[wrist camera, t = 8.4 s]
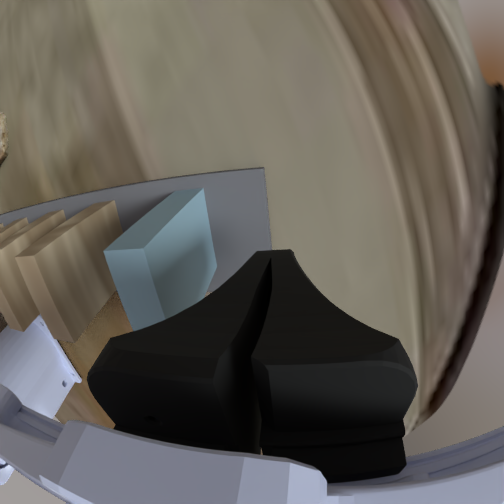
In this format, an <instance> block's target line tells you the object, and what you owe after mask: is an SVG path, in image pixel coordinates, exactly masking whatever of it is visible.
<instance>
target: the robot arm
mask: <svg viewBox="0 0 504 504" xmlns="http://www.w3.org/2000/svg"><path fill="white" fill-rule="evenodd" d="M81 381H82V379H81V378H80V376H79V375H78V373H77V372H76V370H75V369H74V367H73V366H72V364H71V362H70V361H69V359H68V358H67V356H66V354H65V353H64V351H63V350H62V348H61V346H60V344H59V343H58V341H57V339H54V338H53V336H52V335H51V333H50V331H49V329H48V327H47V326H46V324H45V322H44V320H43V318H42V316H41V314H40V315H39V316H38V317H37V318H36V319H35V320H34V321H33V322H32V323H31V324H30V325H29V327H28V328H27V329H26V330H25V331H24V332H22V331H18V330H14V329H10V327H9V325H7V326H6V327H5V328H4V329H3V331H2V332H1V333H0V485H3V484H5V482H7V481H8V479H9V477H10V476H11V474H12V472H13V471H14V470H17V471H18V472H20V473H21V474H22V475H24V476H25V477H27V478H28V479H29V480H31V481H32V482H34V483H35V484H37V485H39V486H40V487H42V488H43V489H44V490H46V491H48V492H50V493H51V494H53V495H54V496H56V497H58V498H60V499H61V500H63V501H65V502H66V504H504V426H503V427H500V428H498V429H495V430H493V431H491V432H488V433H486V434H483V435H480V436H478V437H475V438H472V439H469V440H466V441H464V442H461V443H458V444H454V445H451V446H448V447H444V448H441V449H437V450H434V451H430V452H426V453H422V454H418V455H413V456H409V457H405V451H404V446H403V440H402V437H404V435H405V427H404V422H403V418H404V416H405V414H406V412H407V411H408V409H409V407H410V405H411V403H412V401H413V399H414V397H415V394H416V391H417V387H418V384H417V378H416V374H415V371H414V369H413V366H412V363H411V361H410V359H409V357H408V355H407V353H406V351H405V349H404V348H403V346H402V344H401V342H400V340H399V339H397V338H395V337H393V336H390V335H388V334H385V333H383V332H380V331H378V330H376V329H373V328H371V327H369V326H367V325H365V324H363V323H362V322H360V321H358V320H356V319H354V318H353V317H351V316H350V315H348V314H346V313H345V312H344V311H342V310H341V309H339V308H338V307H337V306H335V305H334V304H333V303H331V302H330V301H329V300H328V299H327V298H326V297H325V296H324V295H323V294H322V293H321V292H320V291H319V290H318V289H317V288H316V287H315V286H314V284H313V283H312V282H311V281H310V280H309V278H308V277H307V276H306V274H305V273H304V271H303V270H302V268H301V267H300V265H299V264H298V262H297V260H296V258H295V256H294V252H293V251H292V250H291V249H288V250H266V251H256V252H255V253H254V254H253V255H252V256H251V257H250V258H249V259H248V260H247V262H246V263H245V264H244V265H243V266H242V267H241V268H240V269H239V270H238V271H237V272H236V273H235V274H234V275H232V276H231V277H230V278H229V279H228V280H227V281H226V282H224V283H223V284H222V285H221V286H220V287H219V288H217V289H216V290H215V291H213V292H212V293H211V294H209V295H208V296H206V297H205V298H203V299H202V300H200V301H199V302H197V303H196V304H194V305H192V306H190V307H189V308H187V309H185V310H183V311H181V312H179V313H178V314H176V315H174V316H172V317H169V318H167V319H165V320H163V321H161V322H158V323H156V324H153V325H151V326H148V327H145V328H142V329H139V330H136V331H133V332H130V333H126V334H123V335H120V336H116V337H112V338H110V340H109V341H108V343H107V344H106V346H105V347H104V349H103V350H102V352H101V353H100V355H99V356H98V358H97V360H96V361H95V363H94V364H93V366H92V367H91V369H90V371H89V372H88V376H87V382H88V385H89V389H90V391H91V393H92V394H93V396H94V398H95V399H96V400H97V402H98V403H99V404H100V406H101V407H102V408H103V410H104V411H105V412H106V413H107V415H108V416H109V417H110V418H111V419H112V421H113V422H114V423H115V424H116V425H115V427H114V429H110V428H107V427H104V426H101V425H98V424H95V423H90V422H84V421H79V420H68V421H67V423H66V424H62V423H60V422H58V421H55V420H53V417H54V416H55V414H56V412H57V411H58V409H59V407H60V406H61V404H62V402H63V401H64V399H65V397H66V396H67V394H68V392H69V391H70V389H71V388H72V386H73V384H74V383H75V382H77V383H81ZM261 448H262V453H263V455H260V454H261Z"/></svg>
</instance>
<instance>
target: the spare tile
mask: <svg viewBox="0 0 504 504" xmlns="http://www.w3.org/2000/svg"><path fill="white" fill-rule="evenodd" d="M103 252H104V255H105V258H106V261H107V264H108V267H109V270H110V272H111V275H112V278H113V281H114V284H115V286H116V289H117V292H118V294H119V297H120V299H121V302H122V304H123V307H124V309H125V312H126V314H127V317H128V319H129V322H130V324H131V326H132V329H133V331H136V330H139V329H142V328H145V327H148V326H151V325H153V324H156V323H158V322H161V321H163V320H165V319H167V318H169V317H172V316H174V315H176V314H178V313H179V312H181V311H183V310H185V309H187V308H189V307H190V306H192V305H194V304H196V303H197V302H199V301H200V300H202V299H203V298H204V296H205V294H206V291H207V289H208V287H209V284H210V282H211V280H212V277H213V275H214V273H215V270H216V268H217V263H216V258H215V252H214V247H213V241H212V236H211V230H210V224H209V219H208V213H207V207H206V201H205V195H204V189H203V188H198V189H189V190H181V191H175V192H173V193H172V194H171V195H169V196H168V197H167V198H166V199H164V200H163V201H162V202H160V203H159V204H158V205H157V206H155V207H154V208H153V209H152V210H151V211H149V212H148V213H147V214H146V215H144V216H143V217H142V218H141V219H140V220H138V221H137V222H136V223H135V224H134V225H132V226H131V227H130V228H129V229H128V230H127V231H125V232H124V233H123V234H122V235H121V236H120V237H118V238H117V239H116V240H115V241H114V242H113V243H112V244H110V245H109V246H108V247H107V248H106V249H105V250H104V251H103Z"/></svg>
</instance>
